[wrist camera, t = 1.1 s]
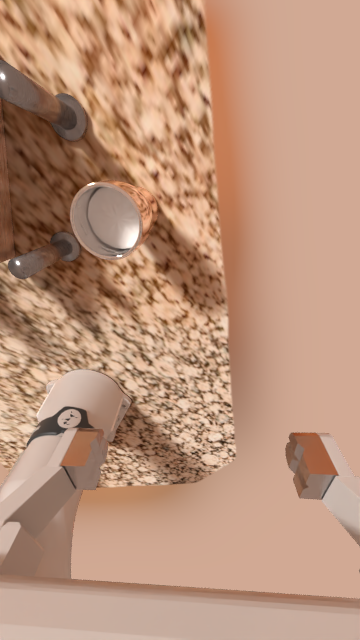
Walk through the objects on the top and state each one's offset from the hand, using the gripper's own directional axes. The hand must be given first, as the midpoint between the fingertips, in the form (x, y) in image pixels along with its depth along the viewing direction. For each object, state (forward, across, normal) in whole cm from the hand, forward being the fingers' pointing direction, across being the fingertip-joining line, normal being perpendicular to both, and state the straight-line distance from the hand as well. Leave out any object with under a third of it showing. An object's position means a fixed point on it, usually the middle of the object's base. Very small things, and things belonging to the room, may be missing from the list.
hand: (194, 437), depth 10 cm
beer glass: (+31, +8, -7) cm, 33 cm away
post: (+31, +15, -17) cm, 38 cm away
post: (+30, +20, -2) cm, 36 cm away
